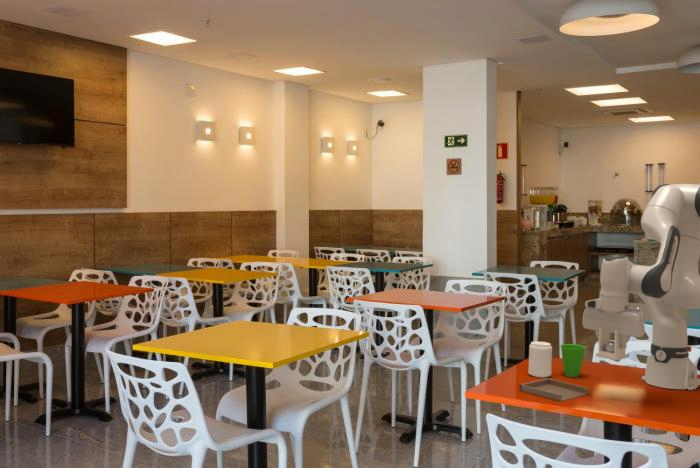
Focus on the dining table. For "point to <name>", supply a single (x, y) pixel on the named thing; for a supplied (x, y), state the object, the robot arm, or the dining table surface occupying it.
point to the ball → (610, 346)
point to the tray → (554, 389)
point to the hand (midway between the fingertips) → (612, 346)
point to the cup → (572, 359)
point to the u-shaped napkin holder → (618, 352)
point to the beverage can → (540, 359)
